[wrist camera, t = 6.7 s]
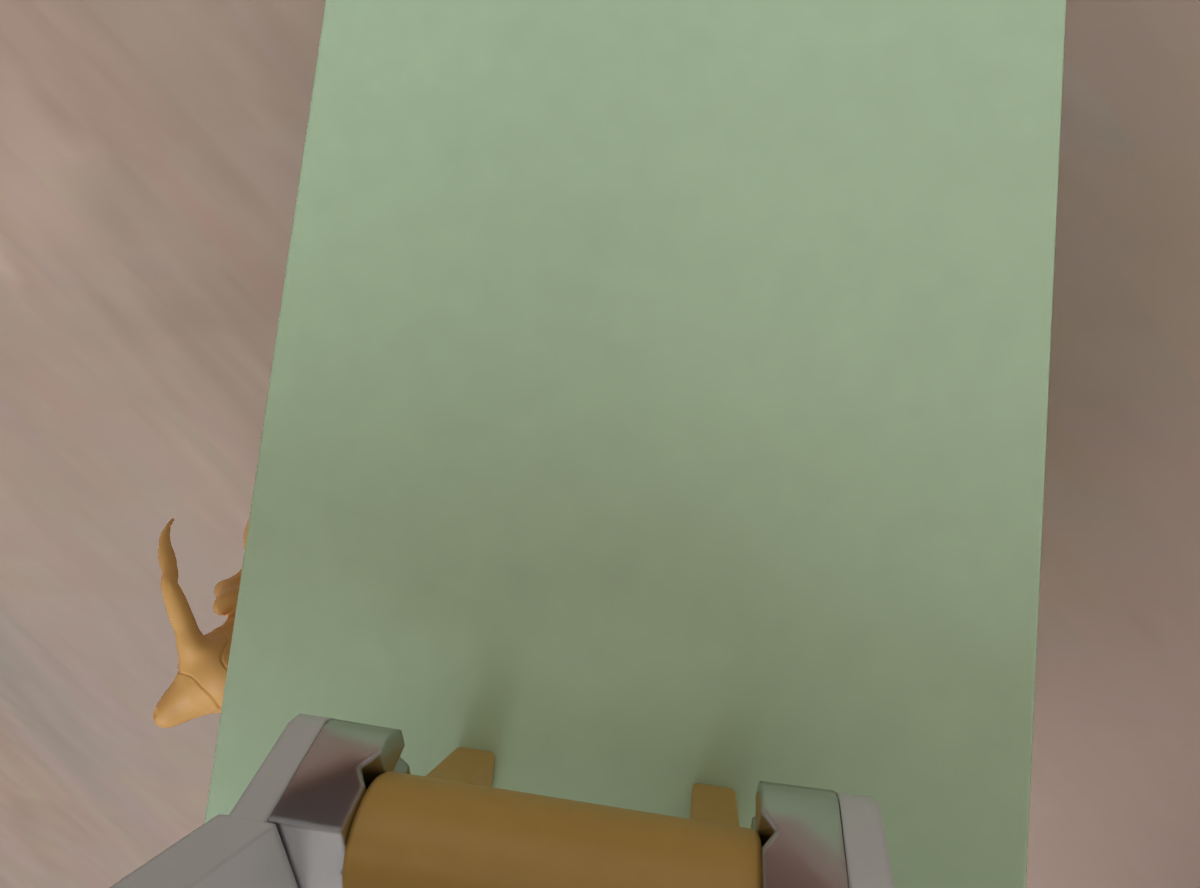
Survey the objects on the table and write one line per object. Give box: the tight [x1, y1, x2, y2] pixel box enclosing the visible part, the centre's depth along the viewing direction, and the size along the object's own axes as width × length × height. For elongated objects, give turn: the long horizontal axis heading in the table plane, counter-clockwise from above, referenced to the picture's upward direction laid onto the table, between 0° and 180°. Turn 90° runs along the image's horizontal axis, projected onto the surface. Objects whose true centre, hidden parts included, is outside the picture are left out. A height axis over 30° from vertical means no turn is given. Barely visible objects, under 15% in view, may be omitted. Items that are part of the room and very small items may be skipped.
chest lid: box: [205, 0, 1066, 888], centre depth 12 cm, size 17×14×5 cm
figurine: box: [153, 518, 250, 728], centre depth 27 cm, size 8×6×12 cm
